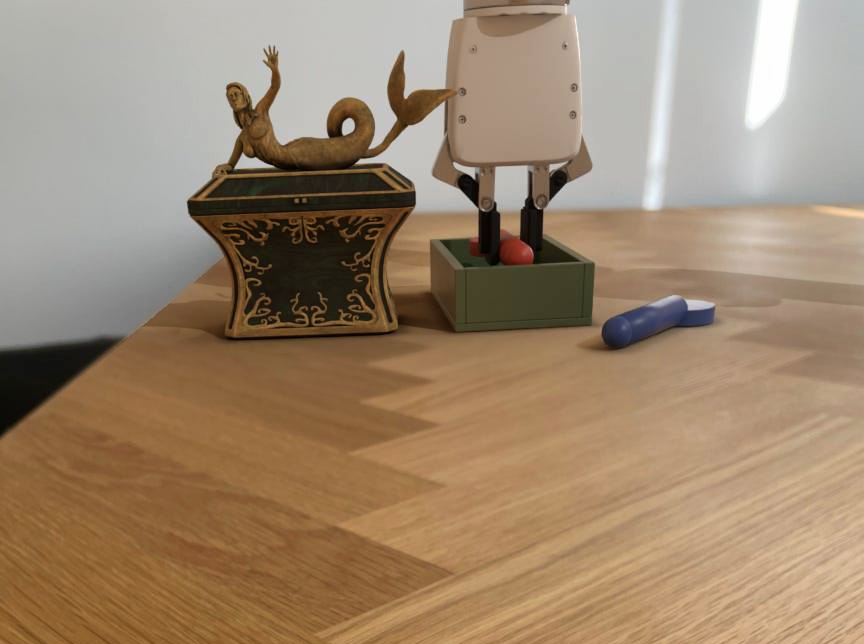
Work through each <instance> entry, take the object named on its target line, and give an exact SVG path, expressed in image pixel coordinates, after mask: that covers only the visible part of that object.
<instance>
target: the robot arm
mask: <svg viewBox="0 0 864 644" xmlns="http://www.w3.org/2000/svg"><path fill="white" fill-rule="evenodd" d="M570 3H571V0H462V10H463V11H462V16H463V17H461V18H456V19H453V20H452V21H451V22H452V23H451V28H450V31H449V38H448V48H447V55H446V56H447V57H446V58H447V59H446V66H445V67H446V70H445V82H444V83H445V84H444V89H453V90H456V91H458V94H456V95H455V96H453V97H451V98H449V99H448V100H446V101H444V105H443V107H444V108H443V109H444V111H443V139H442V141H441V143H440V146H439V149H438V152H437V154H436V157H435V159H434V162H433V164H432V167H431V170H430V172H431V176H432V177H433V178H435V179H436V180H437V181H440V182H442V183H444V184H447V185H449V186H452V187H454V188H456V189H458V190H460V191H461V193H462V194H464V196H465V197H466V198H467V199H468V200H469V201H470V202H471V203H472V204H473V205H474V207H476V208H477V209H478V214H477V215H478V217H477V219H478V221H477V223H478V225H477V226H478V227H477V235H478V236H477V237H478V250H479V253H480V254H485V260H486V262H487V263H488V264H489V265H490V266H496V265H497V264H499V263H500V257H499V252H500V229H501V212H500V211H498V209H497V208H498V203H497V202H496V200H495V190H496V168H498V167H500V168H501V167H522V166H523V167H524V166H525V167H526V166H527V167H526V169H527V171H526V172H527V173H526V178H527V179H526V180H527V181H526V183H527V185H526V193H527V194H526V195H527V196H526V198H525V199H524V206H522V208H520V219H519V220H520V222H519V235H520V240H521V241H522V242H524V243H525V244H527V245H528V246H529V247H530V248H531V249H532V252H533V255H534V259H533V263H532V264H535V251H541V250H542V242H543V234H544V210H545V209H546V208H547V207H548V206H549V204H550V202H551V201H552V200H553V199H554V198H555V196H556V195H557V194H558V193H559V192H560V191H561V190H563V188H564V187H565V186H566V185H567V184H569V183H571V182H573V181H576V180H578V179H579V178H581V177H583V176H585V175H586V174H588V173H590V172H591V171H592V170H593V161H592V158H591V156H590V153H589V150H588V148H587V144H586V142H585V139H584V136H583V134H582V131H583V93H582V67H581V51H580V40H579V39H580V38H579V31H578V24H577V18H576V13H568V6H570ZM454 163H455V164H458V165H460V166H463V167H468V168H474V177H473V176H472V175H470V174H468V173H466V172H464V171H462V170H460V169H458V168H456V167H455V165H454ZM563 163H564V164H563ZM556 164H557V165H558V164H563V165H561V166H559V167H557V168H554V169H552V170H551V171H550V167H551V166H550V165H556Z"/></svg>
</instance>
